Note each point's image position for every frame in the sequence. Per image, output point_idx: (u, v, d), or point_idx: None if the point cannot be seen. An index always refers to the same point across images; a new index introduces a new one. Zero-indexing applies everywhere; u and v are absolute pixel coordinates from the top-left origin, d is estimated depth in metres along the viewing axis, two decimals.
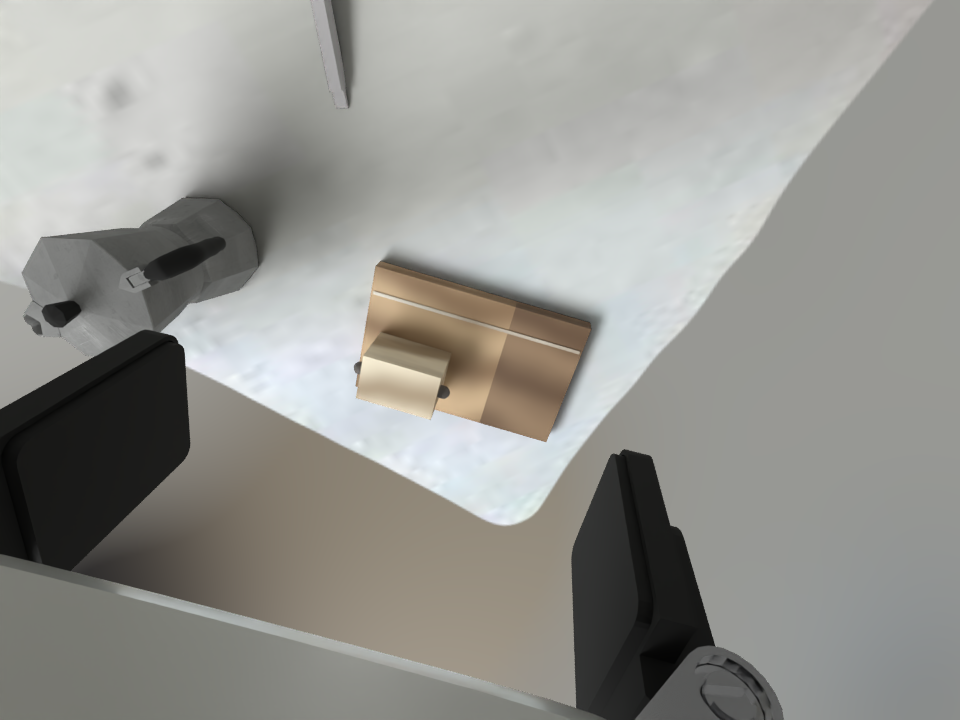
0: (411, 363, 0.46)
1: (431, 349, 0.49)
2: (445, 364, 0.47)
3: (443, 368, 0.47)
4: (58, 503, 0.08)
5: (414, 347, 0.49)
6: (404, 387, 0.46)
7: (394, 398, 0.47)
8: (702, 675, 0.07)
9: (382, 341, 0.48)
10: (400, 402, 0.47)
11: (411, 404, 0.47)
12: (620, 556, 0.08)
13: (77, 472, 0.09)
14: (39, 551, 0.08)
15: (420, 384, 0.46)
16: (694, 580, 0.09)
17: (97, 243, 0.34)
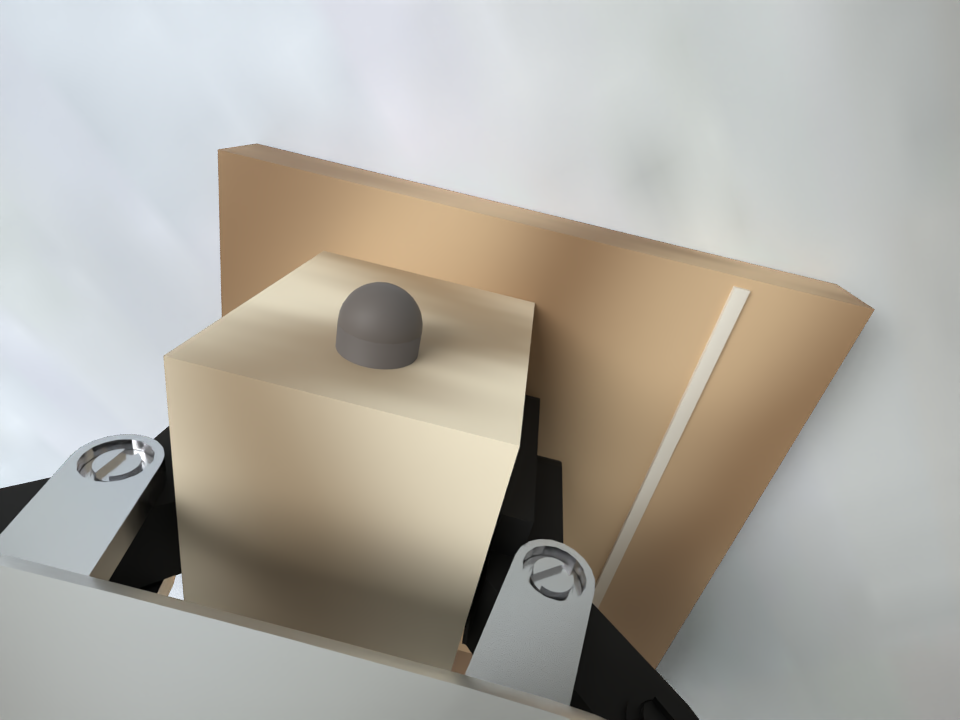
0: None
1: None
2: None
3: None
4: None
5: None
6: (337, 619, 0.08)
7: (251, 567, 0.08)
8: (536, 562, 0.08)
9: None
10: (233, 588, 0.08)
11: None
12: None
13: None
14: None
15: None
16: (561, 499, 0.10)
17: None
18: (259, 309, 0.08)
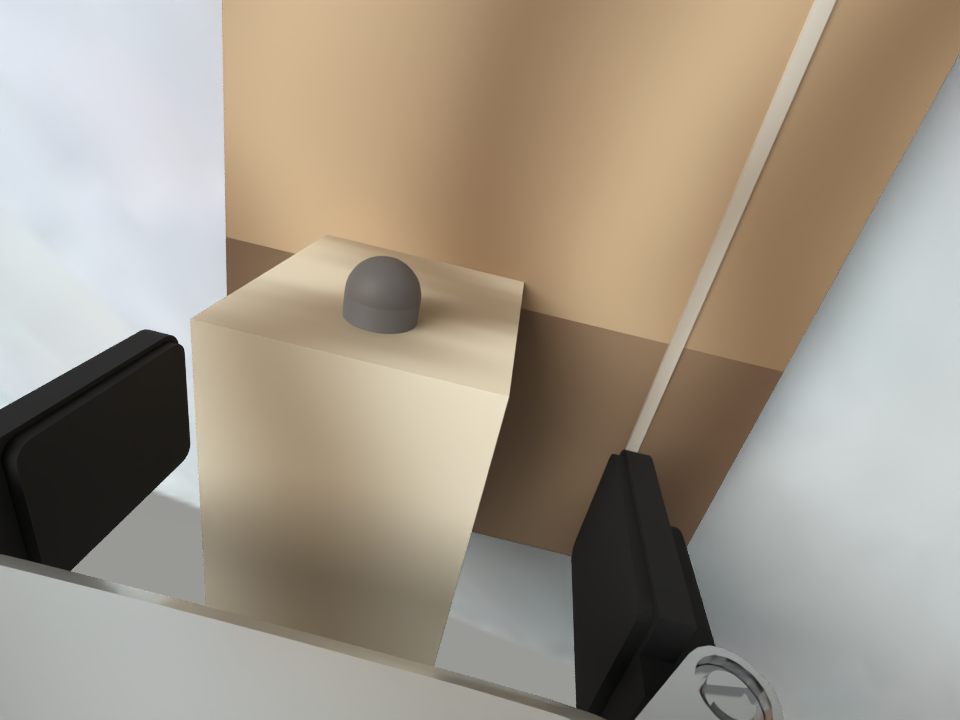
0: None
1: None
2: None
3: None
4: (58, 503, 0.08)
5: None
6: (344, 566, 0.09)
7: (266, 518, 0.09)
8: (702, 675, 0.07)
9: None
10: (249, 539, 0.09)
11: (258, 581, 0.09)
12: (620, 556, 0.08)
13: (77, 472, 0.09)
14: (39, 551, 0.08)
15: (380, 626, 0.10)
16: (694, 580, 0.09)
17: None
18: (271, 283, 0.09)
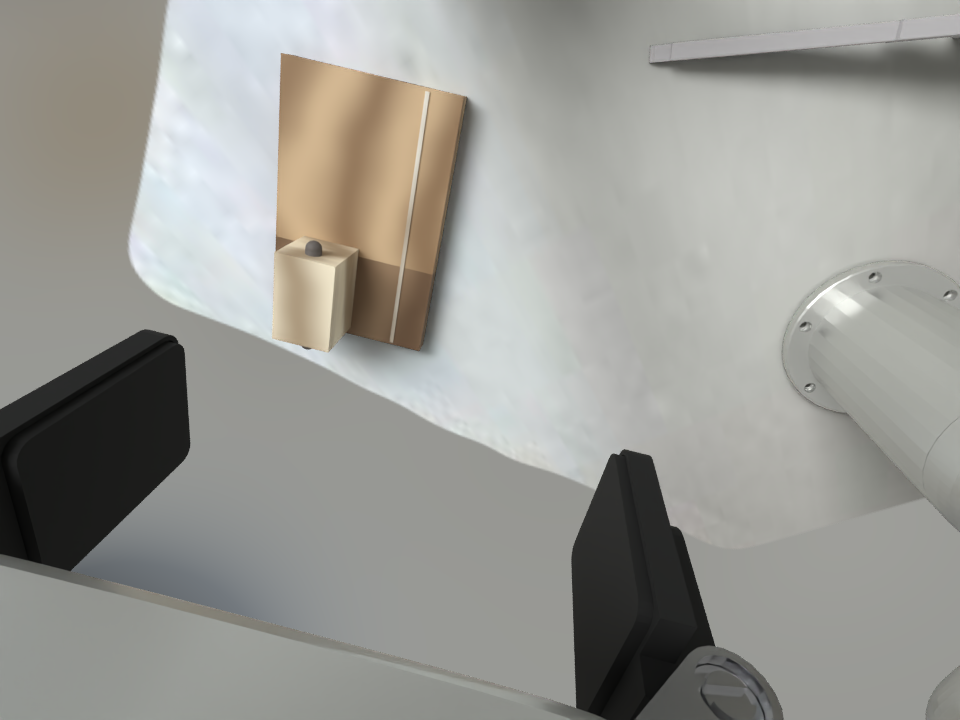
0: (336, 313, 0.40)
1: (350, 309, 0.44)
2: (340, 337, 0.43)
3: (336, 341, 0.42)
4: (58, 503, 0.08)
5: (350, 295, 0.43)
6: (305, 312, 0.39)
7: (288, 299, 0.39)
8: (702, 675, 0.07)
9: (350, 263, 0.41)
10: (284, 305, 0.39)
11: (285, 318, 0.40)
12: (620, 556, 0.08)
13: (77, 472, 0.09)
14: (39, 551, 0.08)
15: (315, 330, 0.40)
16: (694, 580, 0.09)
17: None
18: (289, 246, 0.39)
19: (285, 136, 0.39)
